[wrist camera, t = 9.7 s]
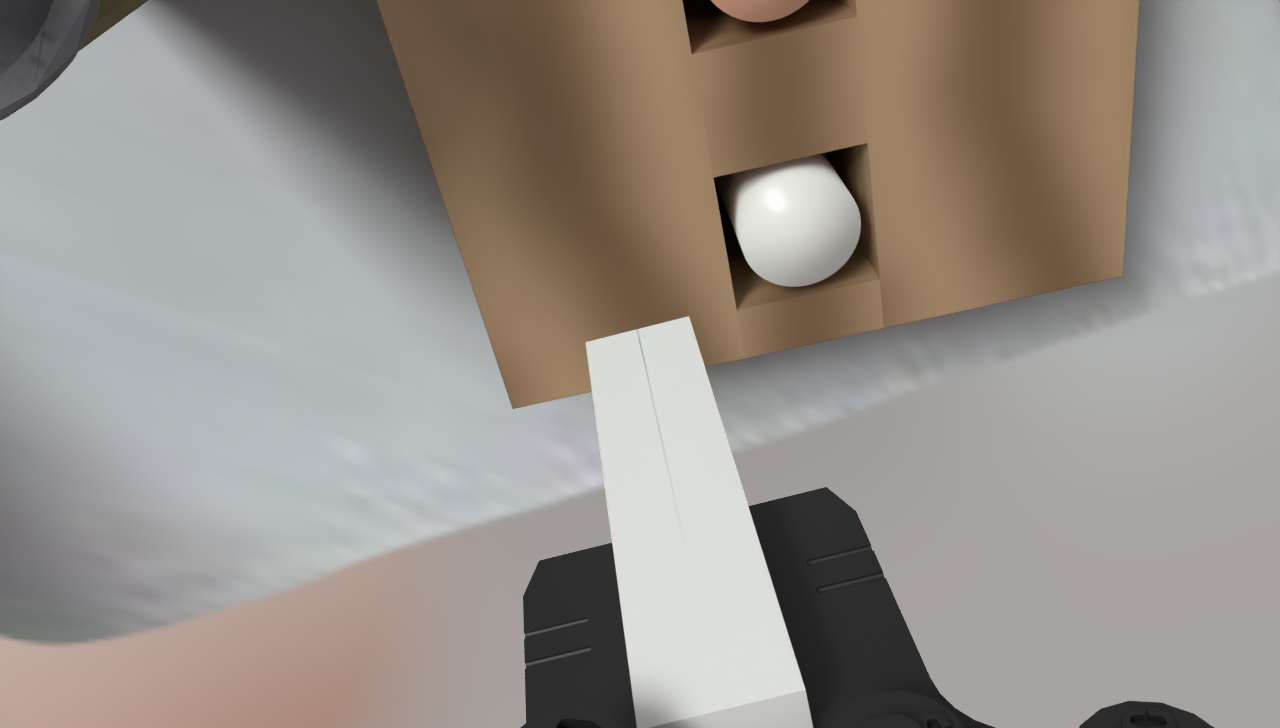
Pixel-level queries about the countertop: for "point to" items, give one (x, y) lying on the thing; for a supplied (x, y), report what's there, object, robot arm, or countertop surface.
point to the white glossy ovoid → (792, 219)
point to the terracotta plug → (759, 8)
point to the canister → (47, 41)
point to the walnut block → (763, 161)
